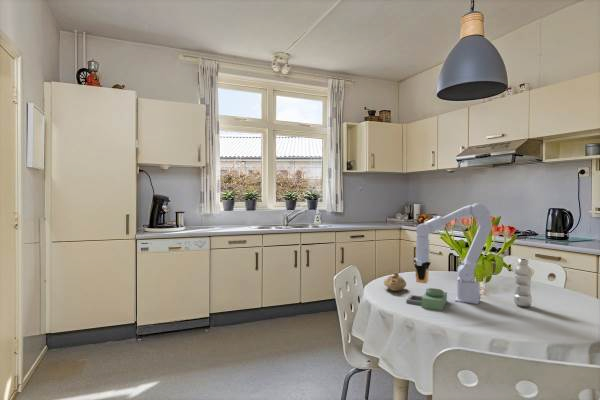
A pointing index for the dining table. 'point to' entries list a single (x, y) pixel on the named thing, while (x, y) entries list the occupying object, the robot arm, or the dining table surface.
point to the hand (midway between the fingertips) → (422, 278)
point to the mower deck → (430, 299)
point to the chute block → (424, 277)
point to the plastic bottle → (523, 284)
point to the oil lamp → (395, 282)
